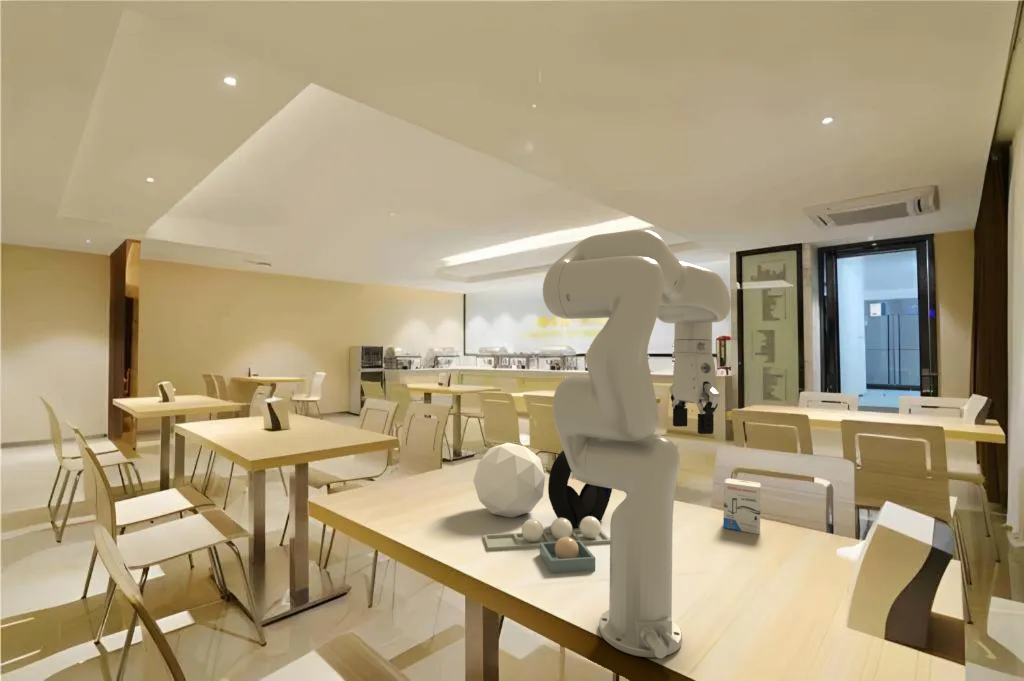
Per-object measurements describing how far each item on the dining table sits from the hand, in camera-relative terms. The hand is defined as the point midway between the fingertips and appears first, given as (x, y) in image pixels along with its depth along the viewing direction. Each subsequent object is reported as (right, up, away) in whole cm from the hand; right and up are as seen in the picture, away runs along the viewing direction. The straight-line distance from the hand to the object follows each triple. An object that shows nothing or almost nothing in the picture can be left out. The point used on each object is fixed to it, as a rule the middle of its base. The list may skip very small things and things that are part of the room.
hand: (692, 429), depth 104 cm
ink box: (+21, -29, +22) cm, 42 cm away
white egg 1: (-33, -27, +9) cm, 44 cm away
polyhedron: (-39, -29, +30) cm, 57 cm away
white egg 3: (-20, -28, +12) cm, 36 cm away
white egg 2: (-27, -28, +11) cm, 40 cm away
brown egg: (-27, -27, -2) cm, 38 cm away
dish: (-27, -28, -2) cm, 39 cm away
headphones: (-20, -29, +23) cm, 42 cm away
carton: (-30, -28, +10) cm, 42 cm away
